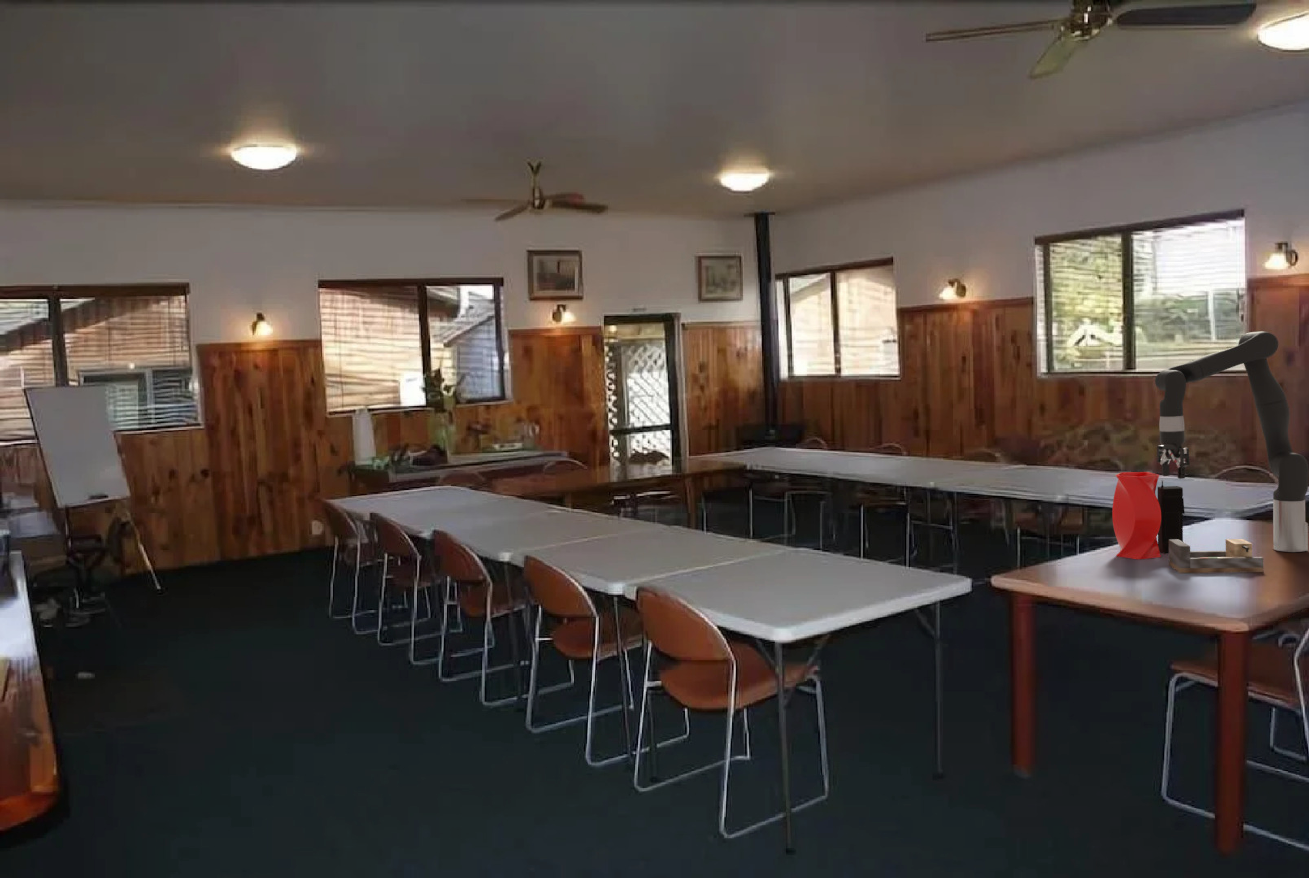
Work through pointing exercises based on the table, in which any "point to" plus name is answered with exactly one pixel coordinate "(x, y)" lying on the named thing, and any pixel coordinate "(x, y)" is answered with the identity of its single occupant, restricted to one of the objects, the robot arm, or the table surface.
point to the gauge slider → (1238, 548)
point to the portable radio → (1170, 515)
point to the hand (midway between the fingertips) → (1173, 477)
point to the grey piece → (1209, 560)
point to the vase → (1136, 515)
